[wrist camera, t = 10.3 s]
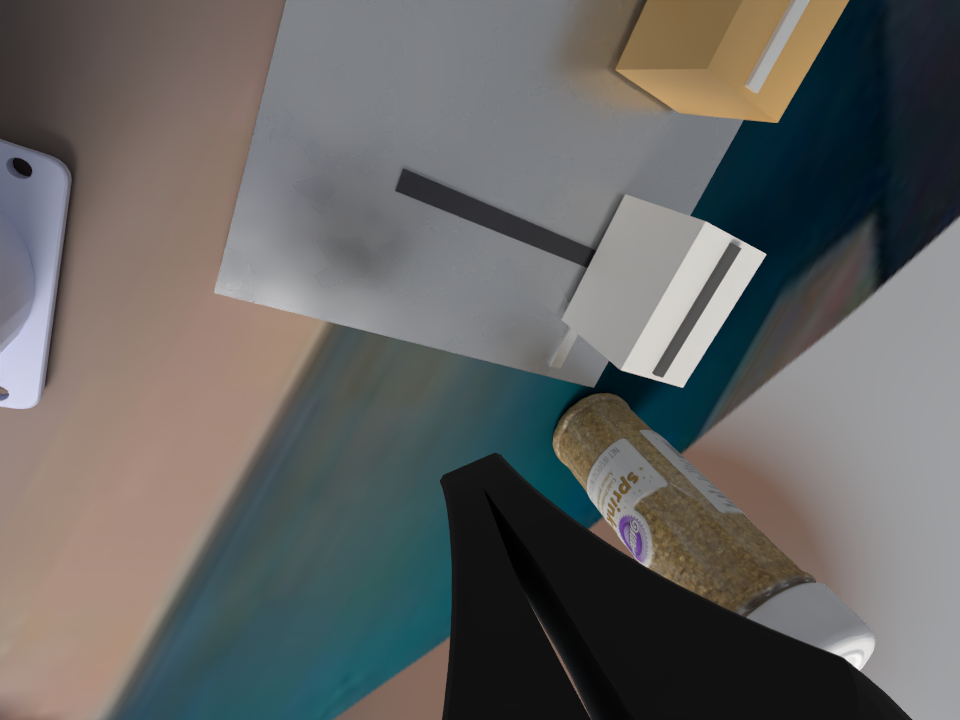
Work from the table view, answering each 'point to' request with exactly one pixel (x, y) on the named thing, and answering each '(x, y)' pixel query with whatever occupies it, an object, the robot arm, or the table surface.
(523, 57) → the fader panel
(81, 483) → the table surface
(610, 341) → the fader knob white
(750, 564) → the sprinkles bottle
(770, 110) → the fader knob orange
